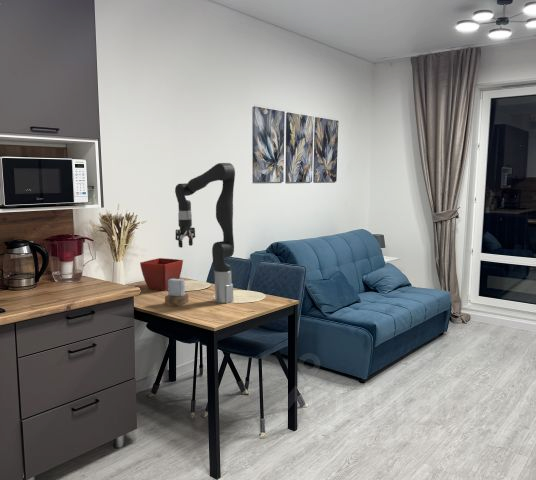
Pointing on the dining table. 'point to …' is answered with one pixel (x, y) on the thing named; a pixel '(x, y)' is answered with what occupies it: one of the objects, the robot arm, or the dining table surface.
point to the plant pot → (160, 272)
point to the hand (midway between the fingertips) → (185, 246)
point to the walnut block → (176, 300)
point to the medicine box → (176, 287)
